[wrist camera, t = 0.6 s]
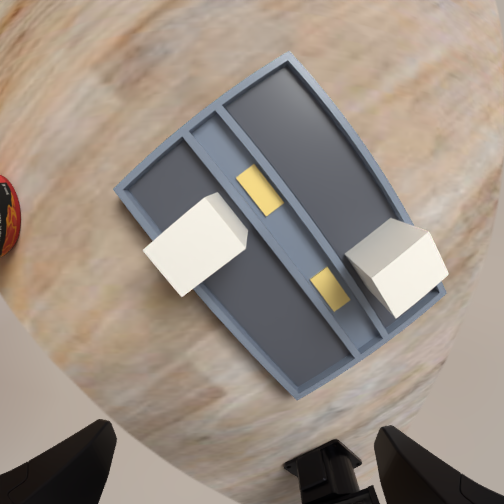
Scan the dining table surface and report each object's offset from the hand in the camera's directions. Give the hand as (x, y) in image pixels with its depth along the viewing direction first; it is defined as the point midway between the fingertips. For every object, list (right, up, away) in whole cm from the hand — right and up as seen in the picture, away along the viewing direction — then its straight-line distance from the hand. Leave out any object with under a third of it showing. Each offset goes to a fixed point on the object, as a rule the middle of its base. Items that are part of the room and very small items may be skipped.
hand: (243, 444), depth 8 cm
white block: (-2, +7, +11) cm, 13 cm away
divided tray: (+3, +7, +12) cm, 14 cm away
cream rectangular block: (+9, +6, +11) cm, 15 cm away
